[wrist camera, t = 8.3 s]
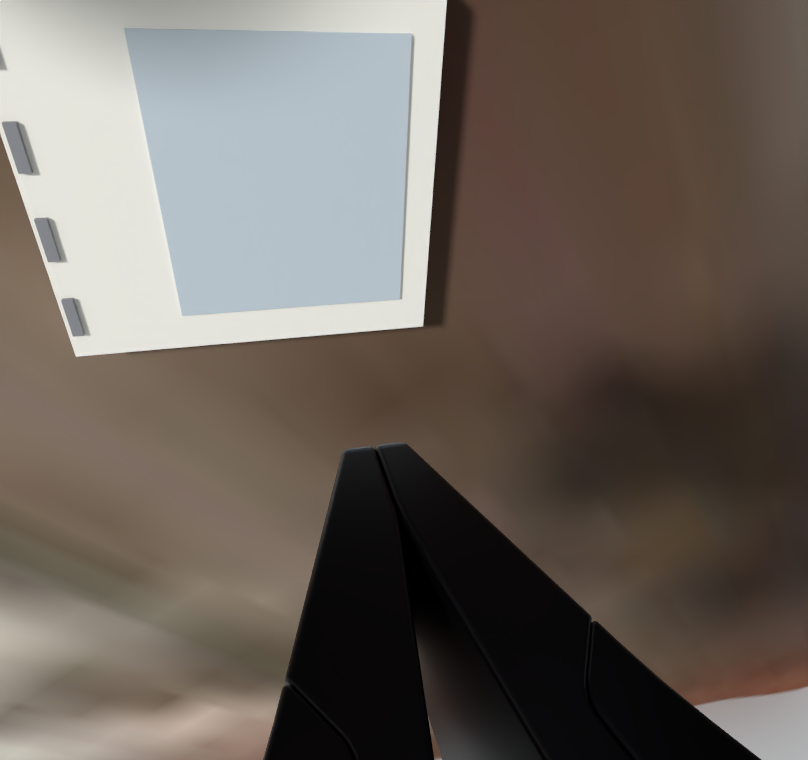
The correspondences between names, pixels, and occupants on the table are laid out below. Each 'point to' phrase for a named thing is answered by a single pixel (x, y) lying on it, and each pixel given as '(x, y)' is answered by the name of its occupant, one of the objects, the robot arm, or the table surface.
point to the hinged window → (225, 163)
